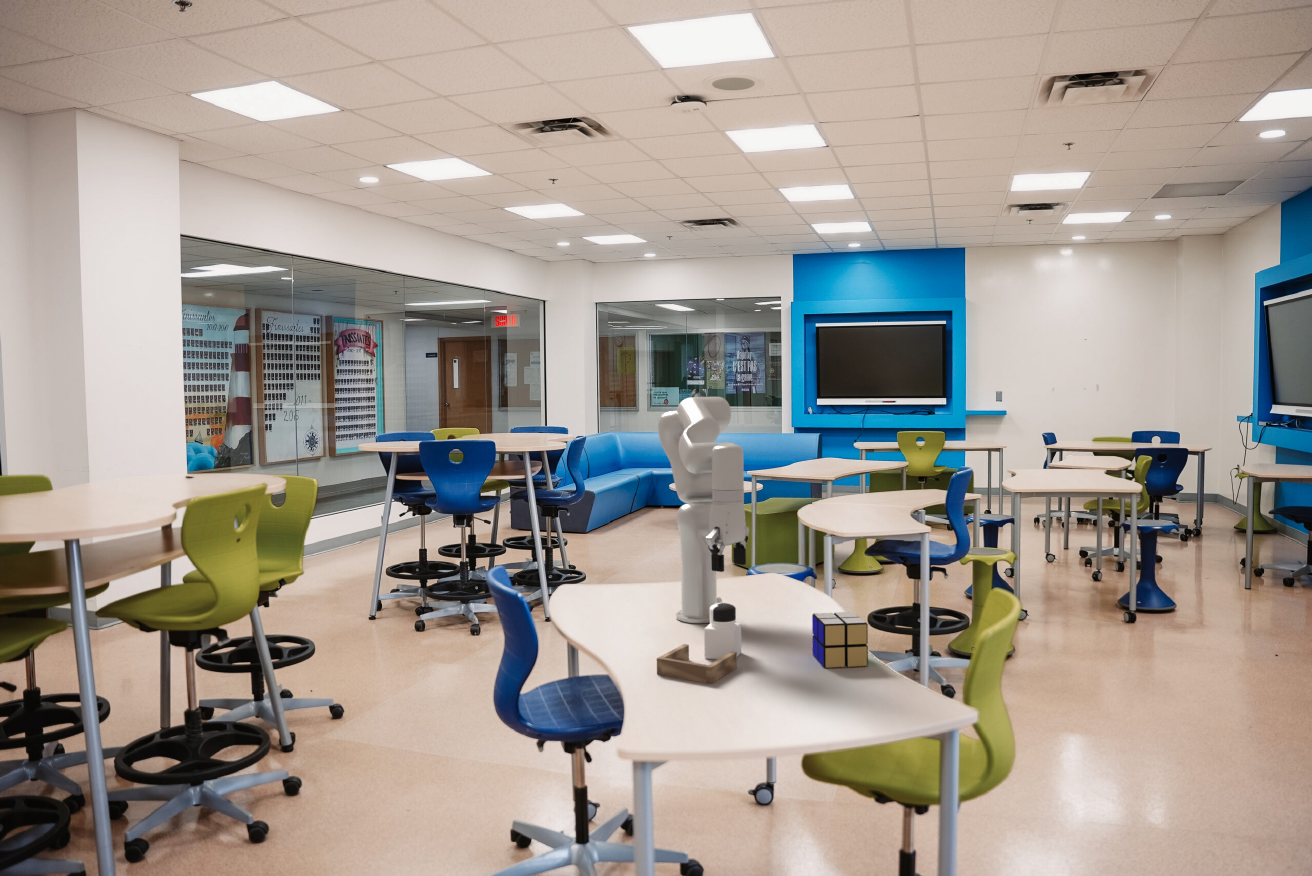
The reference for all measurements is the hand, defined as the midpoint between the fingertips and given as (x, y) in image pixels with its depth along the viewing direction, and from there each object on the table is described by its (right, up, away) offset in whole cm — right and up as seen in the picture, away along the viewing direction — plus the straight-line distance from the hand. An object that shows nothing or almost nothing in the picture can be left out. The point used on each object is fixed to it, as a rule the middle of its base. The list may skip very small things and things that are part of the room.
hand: (729, 567), depth 209 cm
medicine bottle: (-2, -20, -6) cm, 21 cm away
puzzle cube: (+24, -20, -11) cm, 33 cm away
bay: (-8, -20, -16) cm, 27 cm away
